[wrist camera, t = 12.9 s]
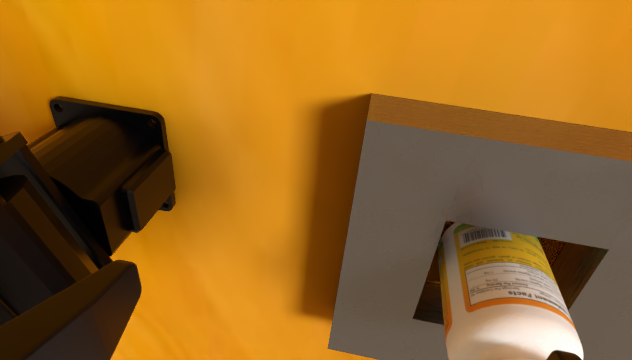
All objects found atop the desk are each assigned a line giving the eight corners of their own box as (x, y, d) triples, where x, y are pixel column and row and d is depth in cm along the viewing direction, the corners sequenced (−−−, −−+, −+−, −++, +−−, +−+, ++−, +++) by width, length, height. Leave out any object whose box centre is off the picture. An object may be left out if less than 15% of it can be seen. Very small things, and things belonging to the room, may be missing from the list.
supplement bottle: (491, 293, 25) (532, 473, 17) (418, 253, 24) (423, 421, 16) (561, 240, 22) (650, 427, 14) (479, 192, 21) (523, 360, 13)
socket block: (334, 310, 28) (327, 348, 26) (371, 93, 20) (366, 120, 17) (575, 360, 27) (592, 405, 24) (736, 148, 18) (789, 186, 15)
